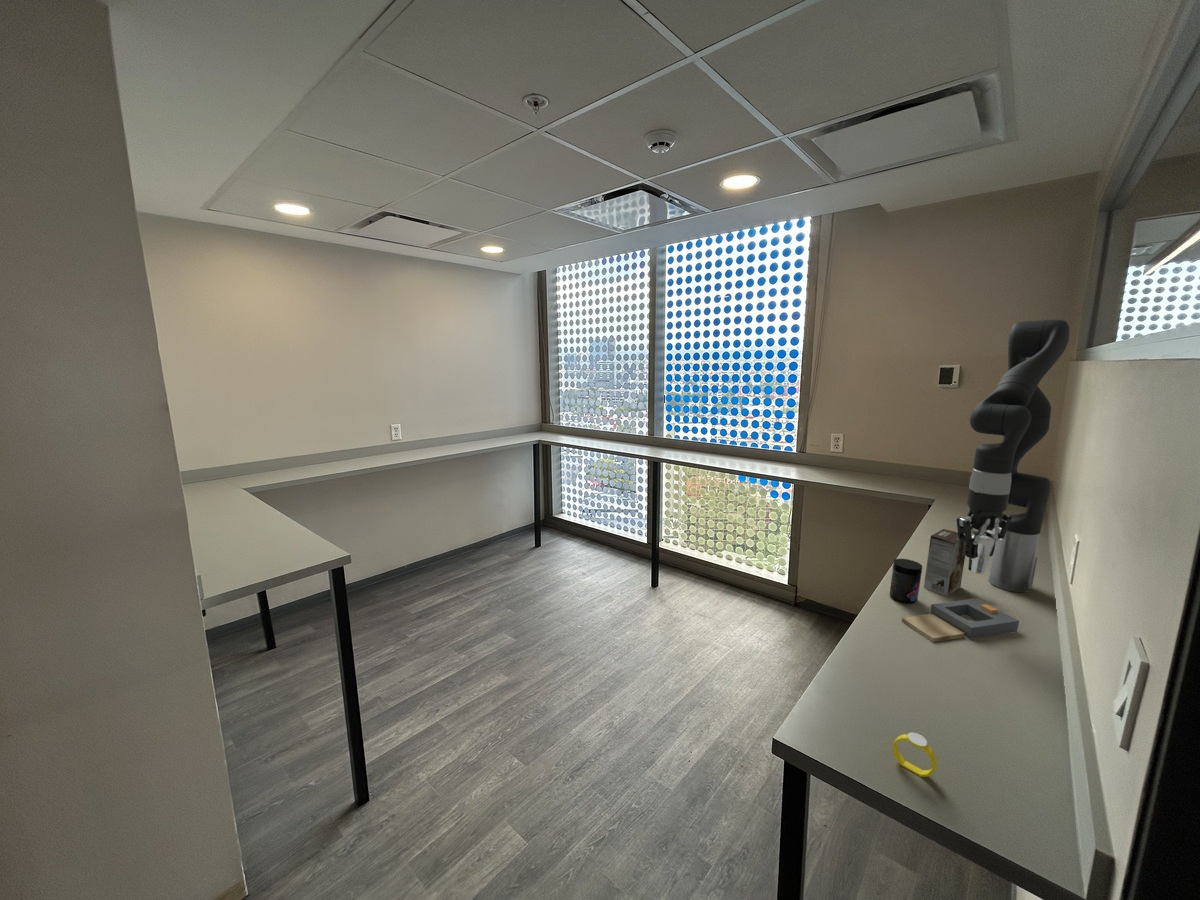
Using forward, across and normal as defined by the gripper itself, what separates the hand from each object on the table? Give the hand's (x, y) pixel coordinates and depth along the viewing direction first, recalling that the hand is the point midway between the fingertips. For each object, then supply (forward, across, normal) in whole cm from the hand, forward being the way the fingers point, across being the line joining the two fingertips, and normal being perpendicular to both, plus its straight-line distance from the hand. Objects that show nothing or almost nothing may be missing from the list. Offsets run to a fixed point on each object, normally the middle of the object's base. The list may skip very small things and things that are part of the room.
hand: (978, 555), depth 117 cm
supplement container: (+19, +6, -14) cm, 24 cm away
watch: (+18, +49, +33) cm, 62 cm away
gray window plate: (+18, -1, 0) cm, 18 cm away
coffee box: (+19, -10, -17) cm, 27 cm away
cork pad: (+18, +11, 0) cm, 21 cm away
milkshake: (+4, 0, 0) cm, 4 cm away
